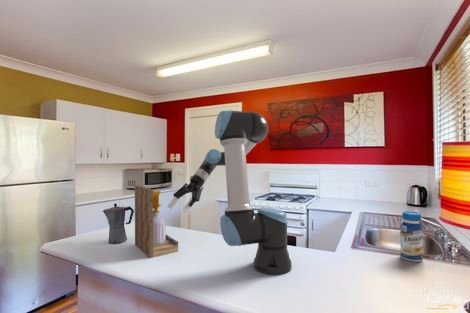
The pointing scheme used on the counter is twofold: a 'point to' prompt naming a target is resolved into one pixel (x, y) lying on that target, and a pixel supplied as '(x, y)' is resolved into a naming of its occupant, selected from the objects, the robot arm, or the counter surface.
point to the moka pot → (117, 223)
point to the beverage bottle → (411, 236)
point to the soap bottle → (158, 221)
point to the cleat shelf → (149, 226)
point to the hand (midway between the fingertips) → (176, 209)
